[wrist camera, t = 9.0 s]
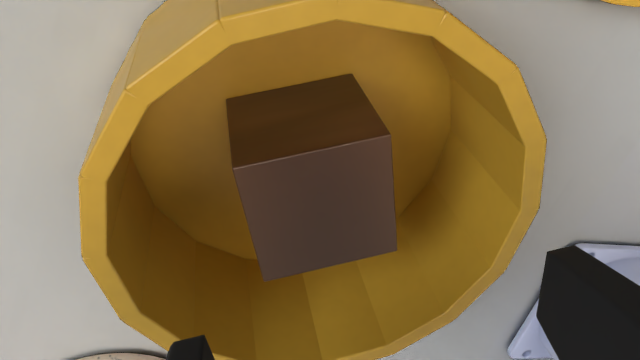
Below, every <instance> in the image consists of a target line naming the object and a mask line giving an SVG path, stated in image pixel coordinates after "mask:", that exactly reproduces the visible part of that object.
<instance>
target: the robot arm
mask: <svg viewBox="0 0 640 360" xmlns="http://www.w3.org/2000/svg"><path fill="white" fill-rule="evenodd" d="M507 352H508V354H509V356H510V357H511V358H512V359H536V358H553V359H554V360H640V246H627V245H607V244H587V243H579V244H575V245H573V246H569V247H565V248H561V249H557V250H552V251H548V252H547V256H546V261H545V267H544V273H543V278H542V284H541V290H540V296H539V299H538V300H537V302H536V303H535V305H534V307H533V308H532V310H531V312H530V313H529V315H528V316H527V318H526V320H525V321H524V323H523V325H522V326H521V328H520V329H519V331H518V333H517V334H516V336H515V338H514V339H513V341H512V342H511V344H510V346H509V347H508V350H507ZM166 360H215V359H214V356H213V354H212V352H211V349H210V347H209V344H208V342H207V340H206V337H205V335H200V336H196V337H192V338H188V339H184V340H179V341H175V342H173V343H172V345H171V346H170V348H169V351H168V354H167V358H166Z"/></svg>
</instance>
